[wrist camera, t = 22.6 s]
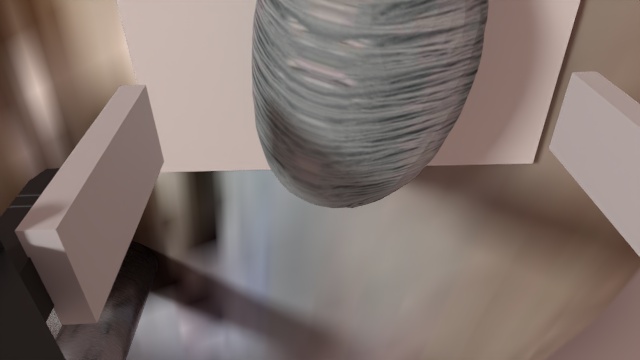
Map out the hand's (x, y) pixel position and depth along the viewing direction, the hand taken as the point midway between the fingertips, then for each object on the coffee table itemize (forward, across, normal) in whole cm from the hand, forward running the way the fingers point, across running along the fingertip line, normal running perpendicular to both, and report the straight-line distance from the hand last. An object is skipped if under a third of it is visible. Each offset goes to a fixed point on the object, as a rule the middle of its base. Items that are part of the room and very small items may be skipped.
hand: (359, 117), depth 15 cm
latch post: (+11, -14, -16) cm, 24 cm away
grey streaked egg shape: (+10, +1, 0) cm, 10 cm away
